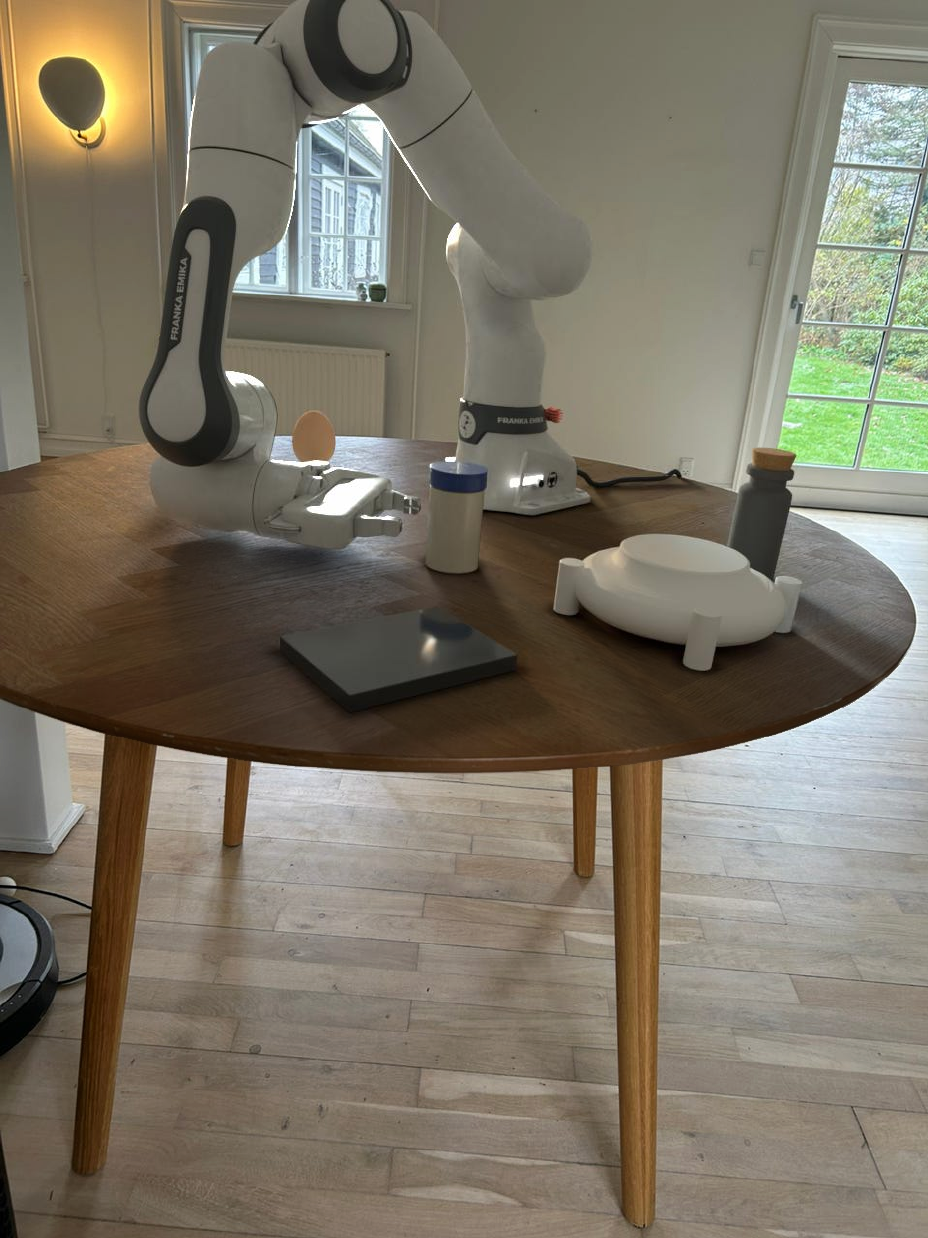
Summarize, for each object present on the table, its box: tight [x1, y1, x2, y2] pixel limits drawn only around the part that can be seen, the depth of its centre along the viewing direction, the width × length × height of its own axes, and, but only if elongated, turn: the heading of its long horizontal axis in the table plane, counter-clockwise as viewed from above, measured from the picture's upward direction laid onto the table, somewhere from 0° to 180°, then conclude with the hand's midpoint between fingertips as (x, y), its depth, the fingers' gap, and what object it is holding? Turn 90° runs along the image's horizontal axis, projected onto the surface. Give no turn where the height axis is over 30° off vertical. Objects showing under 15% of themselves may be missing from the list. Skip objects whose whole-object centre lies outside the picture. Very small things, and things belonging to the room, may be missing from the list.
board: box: [279, 606, 518, 714], centre depth 71 cm, size 16×12×2 cm
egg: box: [291, 410, 336, 463], centre depth 134 cm, size 7×7×9 cm
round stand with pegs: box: [553, 533, 803, 672], centre depth 84 cm, size 24×24×7 cm
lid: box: [428, 460, 488, 492], centre depth 93 cm, size 6×6×2 cm
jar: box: [424, 484, 485, 574], centre depth 94 cm, size 6×6×11 cm
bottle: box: [726, 447, 797, 582], centre depth 97 cm, size 6×6×15 cm
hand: (410, 516), depth 95 cm, fingers open, 8 cm apart
